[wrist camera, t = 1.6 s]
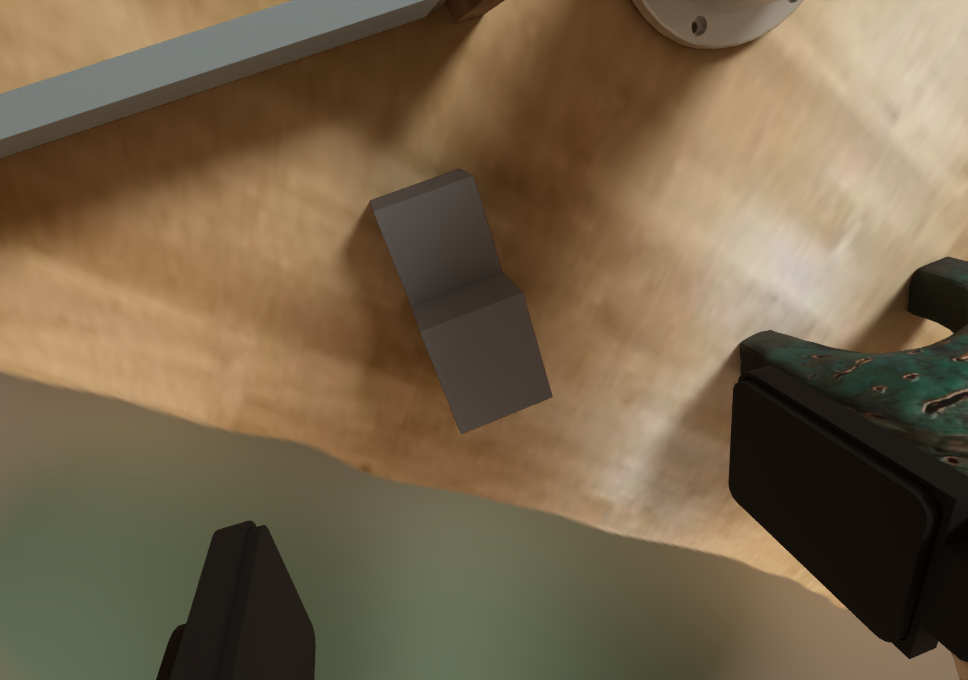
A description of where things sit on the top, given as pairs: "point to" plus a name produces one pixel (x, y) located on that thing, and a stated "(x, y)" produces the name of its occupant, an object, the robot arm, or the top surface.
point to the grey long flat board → (191, 65)
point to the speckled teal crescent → (894, 369)
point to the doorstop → (463, 299)
